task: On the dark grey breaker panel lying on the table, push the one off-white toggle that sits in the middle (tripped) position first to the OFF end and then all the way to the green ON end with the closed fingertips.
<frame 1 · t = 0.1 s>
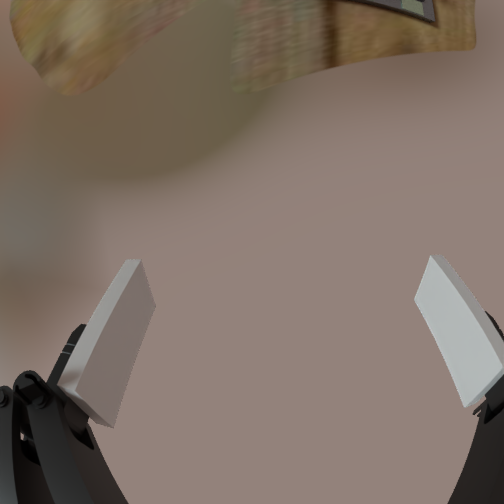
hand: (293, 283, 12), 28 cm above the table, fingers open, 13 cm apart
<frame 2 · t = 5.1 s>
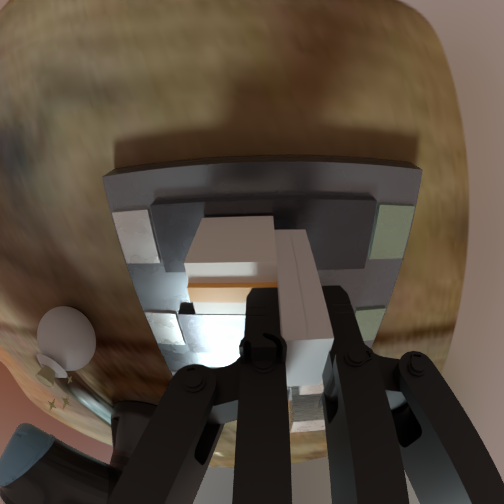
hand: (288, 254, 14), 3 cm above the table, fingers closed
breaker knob: (235, 264, 13), point 4 cm above the table, slide at -1.4 cm, touching gripper
panel: (265, 315, 21), on the table
ornament: (82, 319, 23), on the table
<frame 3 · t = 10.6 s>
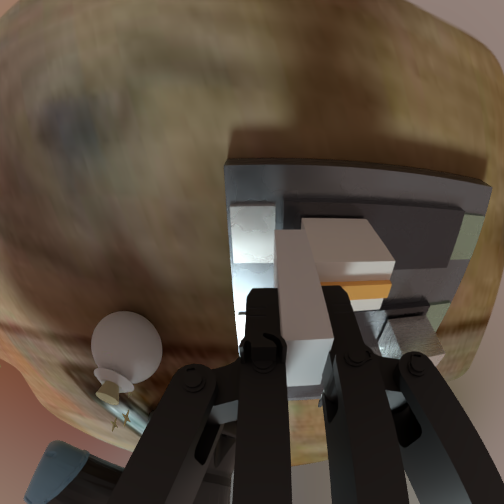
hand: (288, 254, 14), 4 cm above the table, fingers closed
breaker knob: (341, 264, 13), point 4 cm above the table, slide at -3.3 cm, touching gripper
panel: (350, 313, 21), on the table
ornament: (140, 325, 23), on the table
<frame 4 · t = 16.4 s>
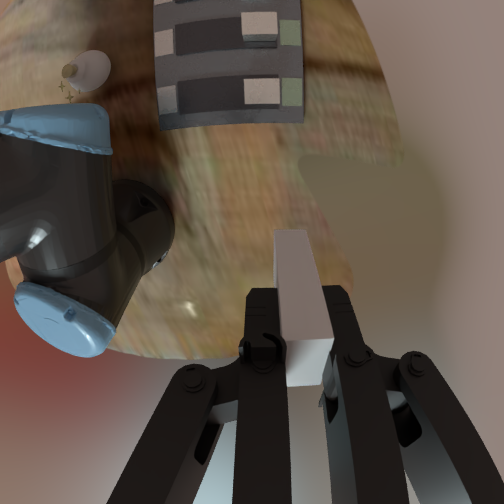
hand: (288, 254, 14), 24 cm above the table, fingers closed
panel: (226, 36, 26), on the table
ornament: (101, 75, 28), on the table
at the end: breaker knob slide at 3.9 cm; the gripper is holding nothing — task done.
